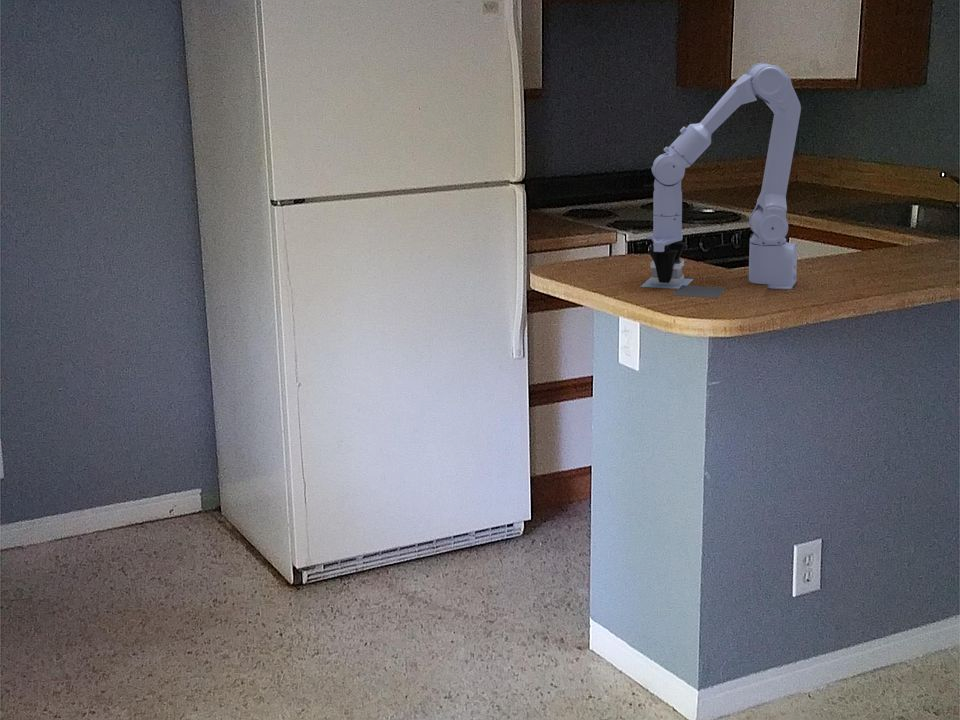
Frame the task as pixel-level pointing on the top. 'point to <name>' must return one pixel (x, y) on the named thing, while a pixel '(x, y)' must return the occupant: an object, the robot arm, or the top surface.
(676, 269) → the block
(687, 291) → the stand
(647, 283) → the stand
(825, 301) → the top surface
